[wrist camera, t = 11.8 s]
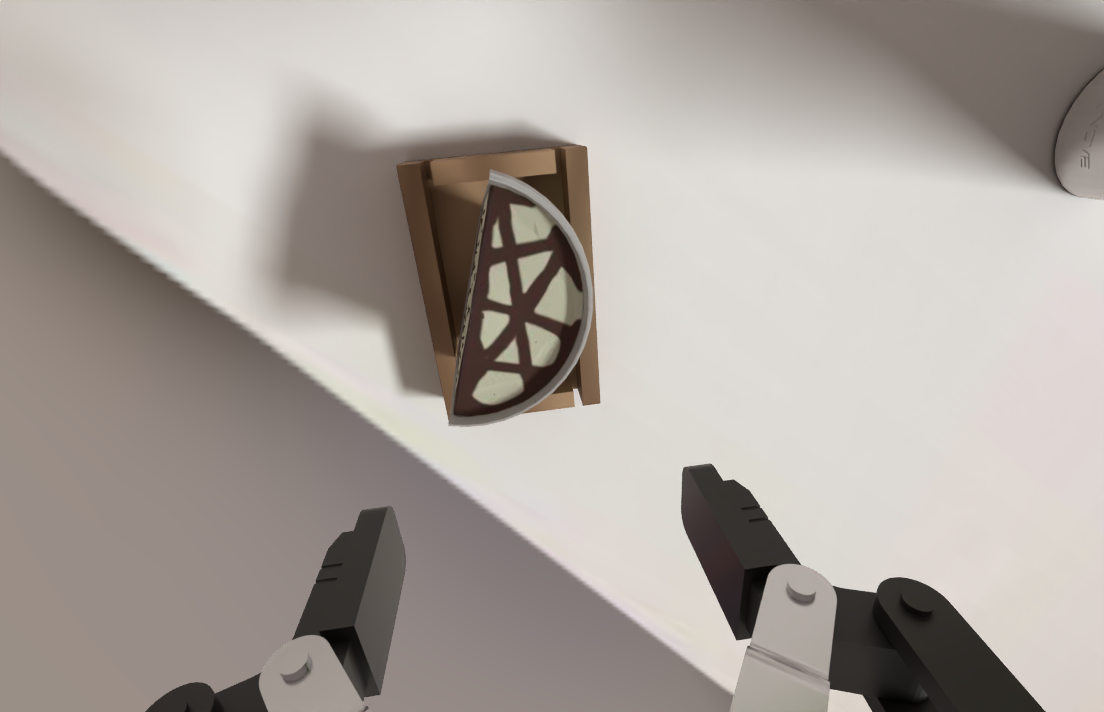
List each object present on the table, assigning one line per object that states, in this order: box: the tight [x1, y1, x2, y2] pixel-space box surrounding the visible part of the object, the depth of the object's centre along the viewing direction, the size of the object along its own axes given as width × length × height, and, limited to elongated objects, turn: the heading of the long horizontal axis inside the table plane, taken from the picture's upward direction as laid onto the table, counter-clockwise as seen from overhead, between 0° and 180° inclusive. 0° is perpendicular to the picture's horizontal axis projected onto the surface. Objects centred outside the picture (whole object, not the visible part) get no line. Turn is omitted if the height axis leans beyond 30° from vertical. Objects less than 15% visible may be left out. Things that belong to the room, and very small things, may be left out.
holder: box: [396, 145, 600, 420], centre depth 32 cm, size 10×16×3 cm, turn 5°
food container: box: [448, 169, 593, 427], centre depth 27 cm, size 12×6×10 cm, turn 167°
